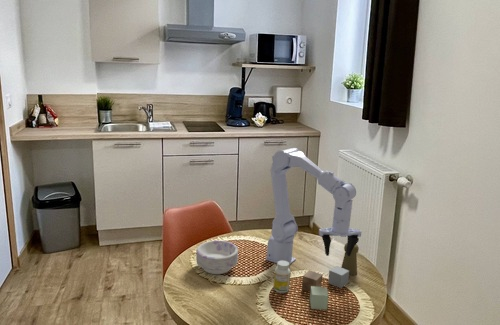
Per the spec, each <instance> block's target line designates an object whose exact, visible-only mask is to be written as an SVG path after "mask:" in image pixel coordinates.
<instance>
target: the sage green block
mask: <svg viewBox="0 0 500 325" xmlns="http://www.w3.org/2000/svg"><path fill="white" fill-rule="evenodd" d="M309 293H310V294H309V302H310V303H309V305H310V309H312V310H325V311H326V310H328V303H329V293H328V287H326V286H321V287H315V286H311V291H310V292H309Z"/></svg>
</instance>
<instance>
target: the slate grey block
mask: <svg viewBox="0 0 500 325" xmlns="http://www.w3.org/2000/svg"><path fill="white" fill-rule="evenodd" d="M341 267H342V266H339V265H335V266H334V267H333V268H330V269H329V271H328V278H327V279H328V280H327V283H328V284H329V283H330V284H329V285H332V286H335V287H336V286H337V287H336V288H338V287H339V288H338V289H342V288H344V287H345V286H346V285H348V284H349V277H350V275H349V270H346V269H344V268H341ZM347 283H348V284H347ZM344 285H345V286H344ZM341 287H342V288H341Z"/></svg>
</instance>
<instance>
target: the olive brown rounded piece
mask: <svg viewBox="0 0 500 325" xmlns="http://www.w3.org/2000/svg"><path fill="white" fill-rule="evenodd" d="M343 249H344V254H343V255H344V256H343V260H342V264H341V266H340V267H341V268H344V269H346V270H349V276H355V275H357V274H358V261H357V260H358V258H357V256H358V253H359V249H360V248H359V246H358V244H357V243H356V245H355V246H354V248H353V250H352V252H351V254H350V256H348V255H347V254H346V250H347V242H346V243H345V244H344V247H343Z"/></svg>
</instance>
